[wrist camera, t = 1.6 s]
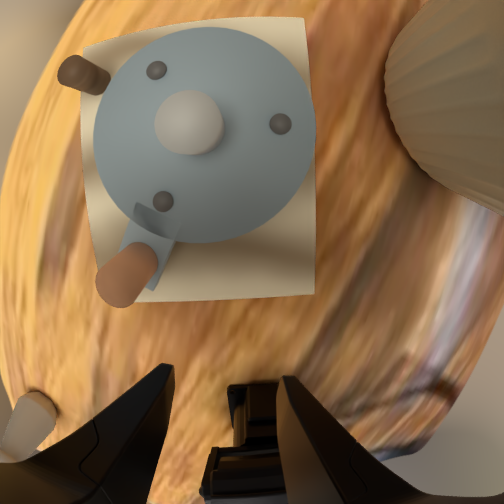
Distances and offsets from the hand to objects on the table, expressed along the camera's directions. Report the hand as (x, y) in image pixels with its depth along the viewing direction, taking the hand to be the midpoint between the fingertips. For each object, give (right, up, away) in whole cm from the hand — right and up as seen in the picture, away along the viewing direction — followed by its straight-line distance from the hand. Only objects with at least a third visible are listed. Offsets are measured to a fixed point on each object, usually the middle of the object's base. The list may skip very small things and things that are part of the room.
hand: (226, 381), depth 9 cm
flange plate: (-3, +10, +8) cm, 13 cm away
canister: (+16, +16, +9) cm, 25 cm away
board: (-3, +10, +10) cm, 15 cm away
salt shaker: (-26, -15, +18) cm, 35 cm away
